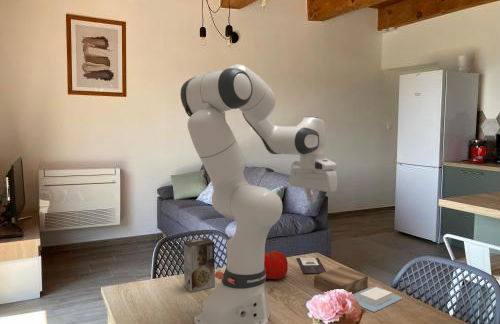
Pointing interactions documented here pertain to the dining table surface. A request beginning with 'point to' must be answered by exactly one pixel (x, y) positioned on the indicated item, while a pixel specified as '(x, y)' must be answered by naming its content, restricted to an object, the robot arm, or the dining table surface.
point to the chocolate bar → (311, 266)
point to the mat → (378, 307)
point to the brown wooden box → (341, 280)
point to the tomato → (275, 265)
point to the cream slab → (375, 296)
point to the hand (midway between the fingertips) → (311, 201)
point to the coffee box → (199, 264)
